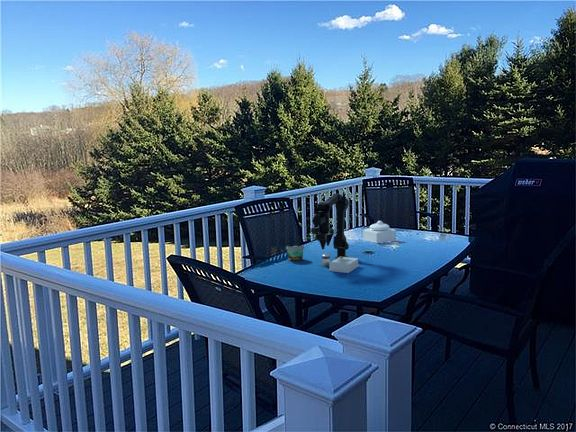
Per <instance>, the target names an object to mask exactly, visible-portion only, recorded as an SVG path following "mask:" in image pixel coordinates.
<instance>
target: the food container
mask: <svg viewBox="0 0 576 432" xmlns="http://www.w3.org/2000/svg"><path fill="white" fill-rule="evenodd" d="M285 249H286V251H287V259H288V261H289V262H294V263H296V262H297V263H298V262H302V261H303V260H304V259H303V258H304V249H305V245H304V244H302V245H292V246H289V245H286V247H285Z"/></svg>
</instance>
